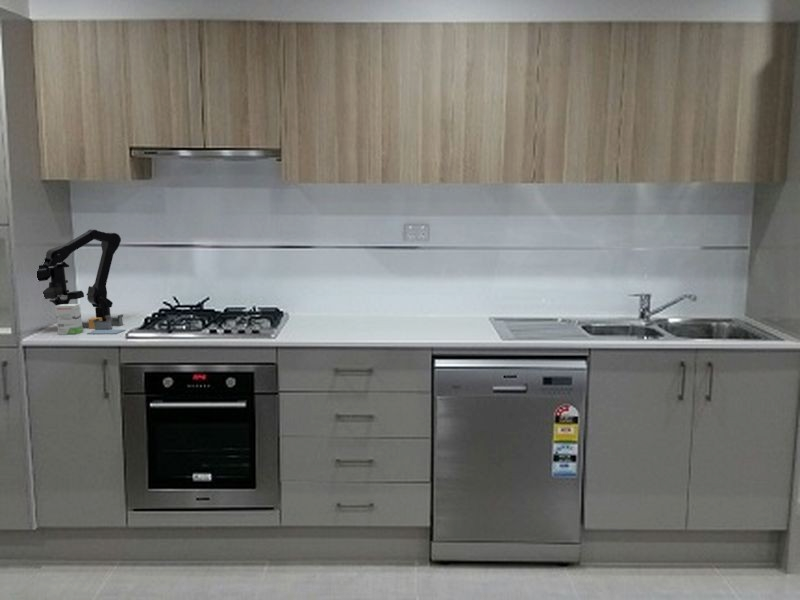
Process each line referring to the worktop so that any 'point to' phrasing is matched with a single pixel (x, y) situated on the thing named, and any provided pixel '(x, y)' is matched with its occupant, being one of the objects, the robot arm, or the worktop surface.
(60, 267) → the robot arm
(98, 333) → the mat
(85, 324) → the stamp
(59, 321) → the ink box
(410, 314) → the worktop surface
